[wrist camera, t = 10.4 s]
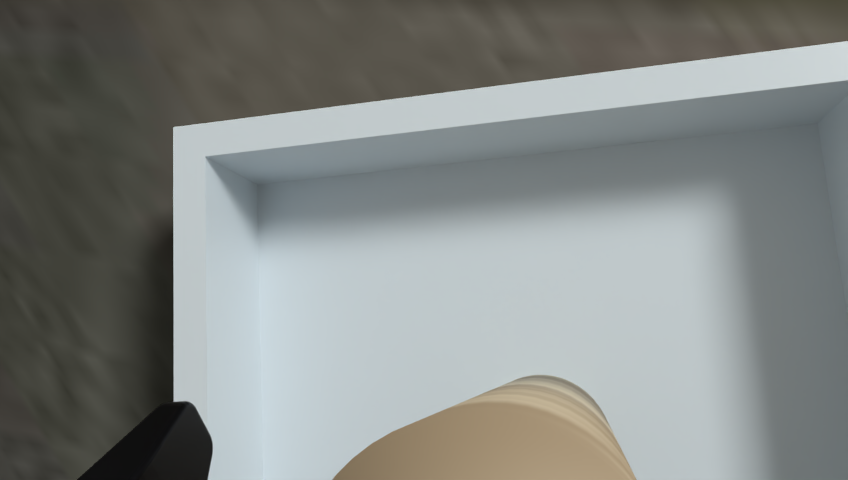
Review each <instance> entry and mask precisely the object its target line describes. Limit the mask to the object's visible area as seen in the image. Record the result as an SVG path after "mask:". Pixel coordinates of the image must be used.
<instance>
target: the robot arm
mask: <svg viewBox="0 0 848 480" xmlns="http://www.w3.org/2000/svg"><path fill="white" fill-rule="evenodd" d="M212 454H213V442H212V438H211V435H210V433H209V432H208V430H207V428H206V426H205V424H204V422H203V420H202V418H201V416H200V414H199V413H198V411H197V409H196V407H195V405H194V404H192V403H191V402H189V401H178V402H166V403H163V404H161V405H160V406H158V407H157V408H156V409H155V410H154V411H153V412H152V413H150V414H149V415H148V416H147V417H146V418H145V419H144V420H143V421H142V422H140V423H139V424H138V425H137V426H136V427H135V428H134V429H133V430H132V431H130V432H129V433H128V434H127V435H126V436H125V437H124V438H123V439H122V440H121V441H119V442H118V443H117V444H116V445H115V446H114V447H113V448H112V449H111V450H109V451H108V452H107V453H106V454H105V455H104V456H103V457H102V458H101V459H99V460H98V461H97V462H96V463H95V464H94V465H93V466H92V467H91V468H89V469H88V470H87V471H86V472H85V473H84V474H83V475H82V476H81V477H80V478H78V479H77V480H208V475H209V470H210V465H211V460H212Z"/></svg>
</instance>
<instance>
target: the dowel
mask: <svg viewBox="0 0 848 480" xmlns="http://www.w3.org/2000/svg"><path fill="white" fill-rule="evenodd" d="M332 480H637V479H636V477H635V475H634V473H633V471H632V469H631V467H630V465H629V463H628V461H627V459H626V457H625V455H624V453H623V451H622V449H621V447H620V445H619V443H618V441H617V439H616V437H615V435H614V433H613V431H612V429H611V427H610V425H609V423H608V421H607V419H606V417H605V415H604V413H603V412H602V410H601V408H600V407H599V405H598V404H597V403H596V402H595V400H594V399H593V398H592V397H591V396H590V395H589V394H588V393H587V392H586V391H584V390H583V389H582V388H580V387H579V386H577V385H576V384H574V383H572V382H570V381H568V380H565V379H563V378H559V377H556V376H550V375H531V376H526V377H522V378H518V379H516V380H514V381H511V382H509V383H506V384H504V385H502V386H499V387H497V388H495V389H492V390H490V391H487V392H485V393H483V394H480V395H478V396H476V397H473V398H471V399H468V400H466V401H464V402H461V403H459V404H457V405H454V406H452V407H449V408H447V409H445V410H442V411H440V412H438V413H435V414H433V415H430V416H428V417H426V418H423V419H421V420H419V421H416V422H414V423H411V424H409V425H407V426H404V427H402V428H400V429H397V430H395V431H393V432H391V433H389V434H387V435H386V436H384V437H382V438H380V439H379V440H377V441H375V442H374V443H372V444H370V445H369V446H368V447H367V448H365V449H364V450H363V451H361V452H360V453H359V454H358V455H356V456H355V457H354V458H352V459H351V460H350V461H349V462H348V463H347V464H346V465H345V466H344V467H343V468H342V469H341V470H340V471H339V472H338V473H337V475H336V476H335V477H334V478H333V479H332Z"/></svg>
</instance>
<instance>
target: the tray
mask: <svg viewBox="0 0 848 480" xmlns="http://www.w3.org/2000/svg"><path fill="white" fill-rule="evenodd" d="M173 274H174V402H178V401H189V402H191V403H192V404H194V405H195V407H196V409H197V411H198V413H199V414H200V416H201V418H202V420H203V422H204V424H205V426H206V428H207V430H208V432H209V433H210V435H211V438H212V442H213V454H212V460H211V465H210V470H209V475H208V480H332V479H333V478H334V477H335V476H336V475H337V473H338V472H339V471H340V470H341V469H342V468H343V467H344V466H345V465H346V464H347V463H348V462H349V461H350V460H351V459H352V458H354V457H355V456H356V455H358V454H359V453H360V452H361V451H363V450H364V449H365V448H367V447H368V446H369V445H370V444H372V443H374V442H375V441H377V440H379V439H380V438H382V437H384V436H386V435H387V434H389V433H391V432H393V431H395V430H397V429H400V428H402V427H404V426H407V425H409V424H411V423H414V422H416V421H419V420H421V419H423V418H426V417H428V416H430V415H433V414H435V413H438V412H440V411H442V410H445V409H447V408H449V407H452V406H454V405H457V404H459V403H461V402H464V401H466V400H468V399H471V398H473V397H476V396H478V395H480V394H483V393H485V392H487V391H490V390H492V389H495V388H497V387H499V386H502V385H504V384H506V383H509V382H511V381H514V380H516V379H518V378H522V377H526V376H531V375H550V376H556V377H559V378H563V379H565V380H568V381H570V382H572V383H574V384H576V385H577V386H579V387H580V388H582V389H583V390H584V391H586V392H587V393H588V394H589V395H590V396H591V397H592V398H593V399H594V400H595V402H596V403H597V404H598V405H599V407H600V408H601V410H602V412H603V413H604V415H605V417H606V419H607V421H608V423H609V425H610V427H611V429H612V431H613V433H614V435H615V437H616V439H617V441H618V443H619V445H620V447H621V449H622V451H623V453H624V455H625V457H626V459H627V461H628V463H629V465H630V467H631V469H632V471H633V473H634V475H635V477H636V479H637V480H848V41H846V42H838V43H830V44H822V45H814V46H806V47H799V48H791V49H783V50H775V51H767V52H759V53H752V54H744V55H736V56H728V57H720V58H712V59H705V60H697V61H689V62H681V63H673V64H665V65H657V66H650V67H642V68H634V69H626V70H618V71H610V72H603V73H595V74H587V75H579V76H571V77H563V78H556V79H548V80H540V81H532V82H524V83H516V84H509V85H501V86H493V87H485V88H477V89H469V90H462V91H454V92H446V93H438V94H430V95H422V96H415V97H407V98H399V99H391V100H383V101H375V102H368V103H360V104H352V105H344V106H336V107H328V108H320V109H313V110H305V111H297V112H289V113H281V114H273V115H266V116H258V117H250V118H242V119H234V120H226V121H219V122H211V123H203V124H195V125H187V126H179V127H173Z"/></svg>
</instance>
